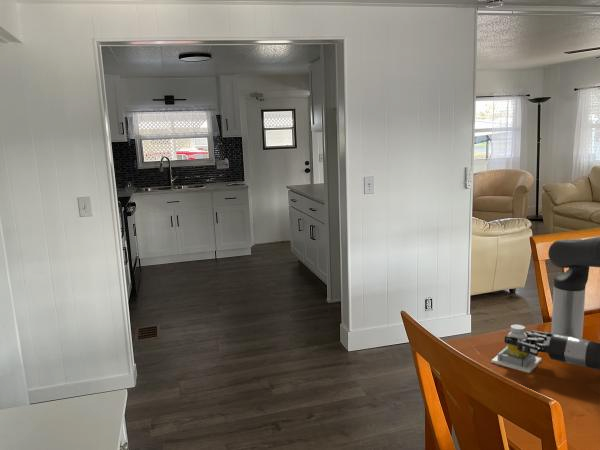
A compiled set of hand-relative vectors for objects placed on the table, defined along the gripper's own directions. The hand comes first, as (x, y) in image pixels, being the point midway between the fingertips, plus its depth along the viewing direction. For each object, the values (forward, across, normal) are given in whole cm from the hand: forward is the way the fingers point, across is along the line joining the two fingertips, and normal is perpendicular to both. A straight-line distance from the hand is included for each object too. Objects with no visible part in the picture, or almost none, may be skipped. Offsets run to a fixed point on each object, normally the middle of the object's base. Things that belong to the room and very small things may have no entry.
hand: (509, 336), depth 150 cm
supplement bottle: (-3, 0, +6) cm, 7 cm away
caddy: (-2, 0, +8) cm, 8 cm away
